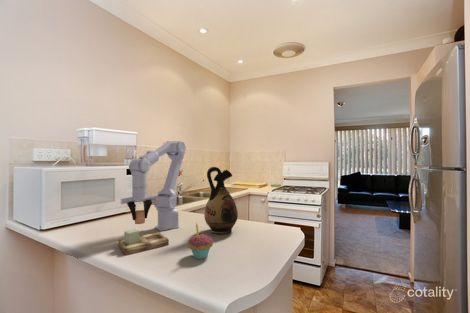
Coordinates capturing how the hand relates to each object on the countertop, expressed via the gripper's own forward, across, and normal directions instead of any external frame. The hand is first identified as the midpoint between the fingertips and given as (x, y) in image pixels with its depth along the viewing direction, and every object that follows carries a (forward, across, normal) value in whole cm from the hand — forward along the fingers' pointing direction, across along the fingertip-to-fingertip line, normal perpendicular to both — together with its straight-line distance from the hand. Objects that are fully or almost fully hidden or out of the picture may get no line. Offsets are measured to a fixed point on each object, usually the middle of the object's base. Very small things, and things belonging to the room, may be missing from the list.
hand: (139, 218), depth 98 cm
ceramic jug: (+8, -32, +13) cm, 35 cm away
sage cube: (+7, +5, +9) cm, 13 cm away
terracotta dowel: (+2, 0, 0) cm, 2 cm away
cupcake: (+8, -12, +32) cm, 35 cm away
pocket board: (+8, +1, +10) cm, 13 cm away
